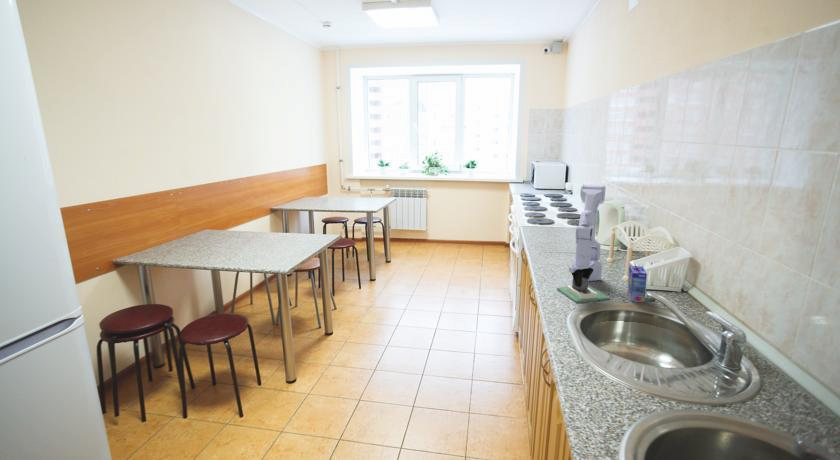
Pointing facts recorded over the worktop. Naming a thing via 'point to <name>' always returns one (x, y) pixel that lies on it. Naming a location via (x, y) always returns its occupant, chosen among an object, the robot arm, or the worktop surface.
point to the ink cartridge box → (637, 283)
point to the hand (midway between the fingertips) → (580, 285)
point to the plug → (583, 287)
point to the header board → (581, 297)
